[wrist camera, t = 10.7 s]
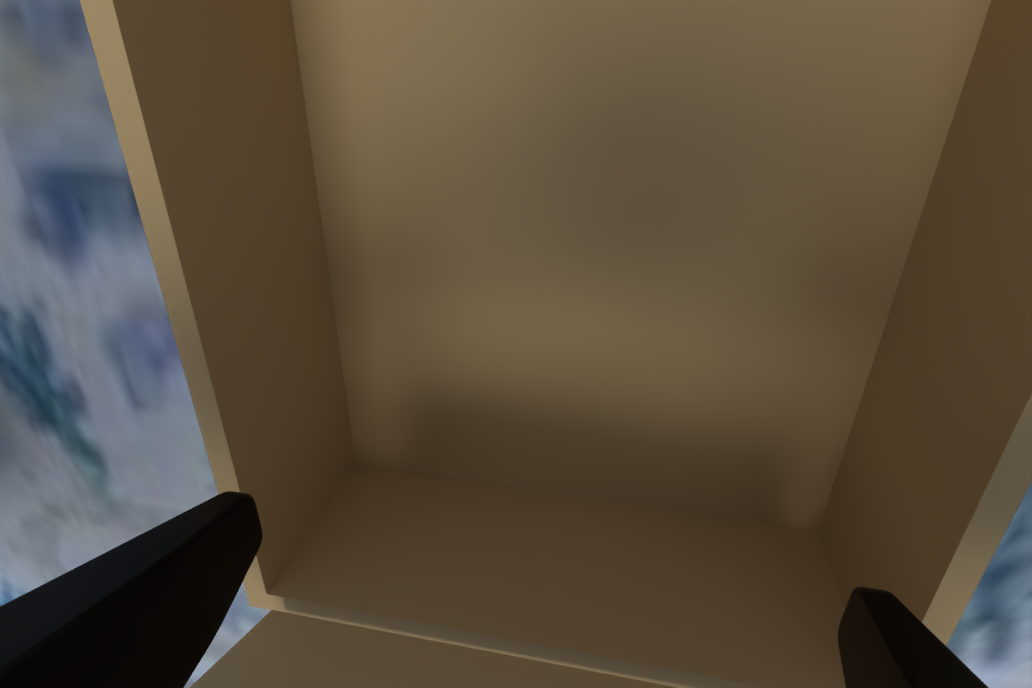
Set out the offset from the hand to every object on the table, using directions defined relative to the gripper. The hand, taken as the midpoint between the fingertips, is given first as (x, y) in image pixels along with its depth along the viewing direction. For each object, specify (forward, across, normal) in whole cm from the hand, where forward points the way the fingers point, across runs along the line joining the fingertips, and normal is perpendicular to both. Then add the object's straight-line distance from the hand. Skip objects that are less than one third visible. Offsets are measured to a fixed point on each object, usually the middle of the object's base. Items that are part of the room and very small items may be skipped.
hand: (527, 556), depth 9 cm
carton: (+9, 0, -2) cm, 9 cm away
